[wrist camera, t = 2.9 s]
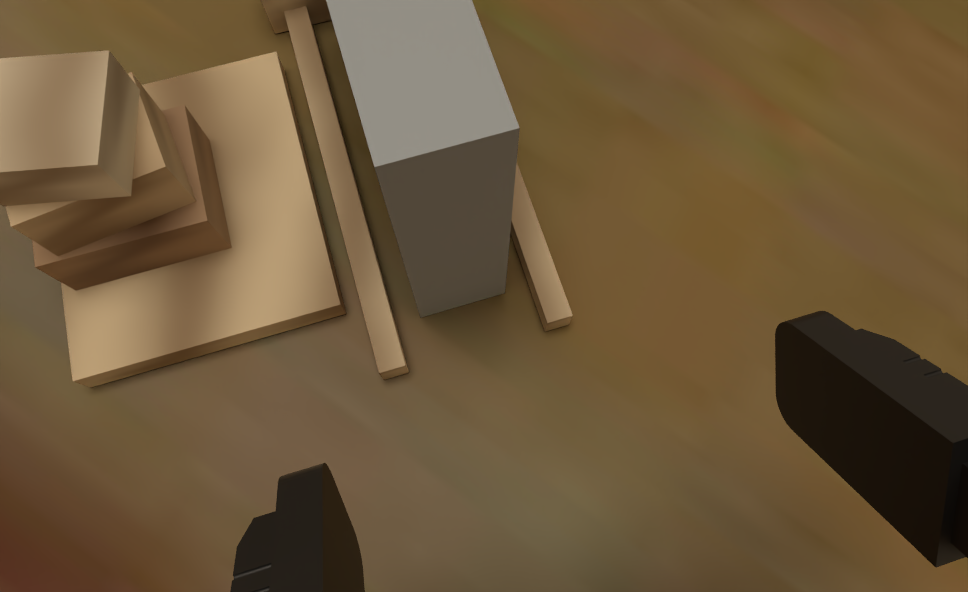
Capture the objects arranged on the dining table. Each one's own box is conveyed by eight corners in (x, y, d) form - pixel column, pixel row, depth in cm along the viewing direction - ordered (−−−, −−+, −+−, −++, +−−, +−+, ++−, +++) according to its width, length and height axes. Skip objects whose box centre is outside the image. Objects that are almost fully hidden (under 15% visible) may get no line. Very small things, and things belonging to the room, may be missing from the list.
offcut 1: (3, 206, 22) (-43, 175, 20) (19, 98, 23) (-23, 60, 21) (131, 196, 22) (97, 164, 20) (140, 89, 23) (109, 50, 21)
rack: (100, 464, 25) (32, 453, 21) (48, 52, 31) (-13, -14, 27) (586, 319, 27) (603, 285, 23) (451, -45, 33) (447, -120, 29)
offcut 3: (75, 290, 26) (35, 267, 24) (61, 178, 28) (22, 146, 25) (231, 247, 27) (207, 220, 24) (209, 140, 28) (184, 104, 26)
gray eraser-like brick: (420, 318, 27) (374, 167, 16) (339, 37, 31) (256, -241, 20) (504, 293, 27) (519, 127, 16) (412, 19, 32) (373, -265, 20)
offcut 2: (58, 256, 24) (11, 226, 22) (31, 164, 25) (-17, 126, 23) (196, 201, 25) (165, 166, 22) (164, 114, 26) (131, 72, 23)
